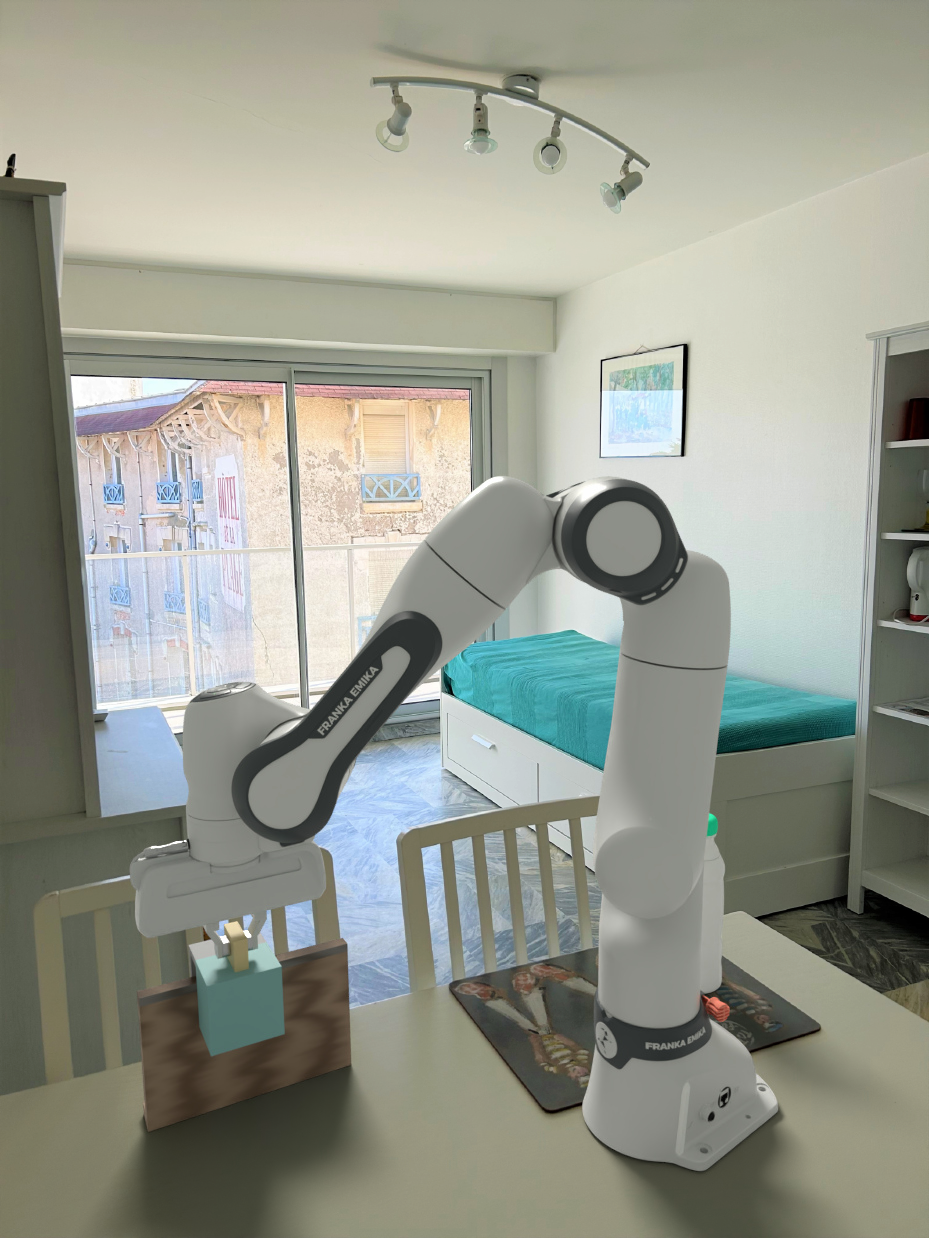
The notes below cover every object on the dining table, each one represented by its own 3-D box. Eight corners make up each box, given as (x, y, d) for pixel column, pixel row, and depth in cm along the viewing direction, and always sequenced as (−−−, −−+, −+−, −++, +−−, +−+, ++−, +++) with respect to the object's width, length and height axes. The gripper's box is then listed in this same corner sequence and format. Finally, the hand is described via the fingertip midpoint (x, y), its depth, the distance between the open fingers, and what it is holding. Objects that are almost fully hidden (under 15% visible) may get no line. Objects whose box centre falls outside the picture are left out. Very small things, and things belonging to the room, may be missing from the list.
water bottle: (723, 998, 122) (729, 826, 119) (671, 993, 124) (675, 823, 120) (719, 971, 129) (724, 808, 125) (670, 966, 130) (673, 805, 127)
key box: (260, 990, 106) (256, 900, 104) (284, 1033, 97) (280, 936, 95) (192, 1009, 102) (186, 916, 100) (211, 1056, 93) (205, 955, 92)
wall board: (342, 1049, 112) (338, 931, 110) (351, 1064, 109) (347, 943, 107) (143, 1113, 101) (134, 983, 98) (148, 1131, 98) (138, 998, 95)
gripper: (132, 862, 87) (141, 991, 89) (328, 823, 97) (333, 941, 99) (124, 840, 93) (132, 963, 95) (310, 806, 102) (315, 918, 104)
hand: (236, 951), depth 97 cm, fingers closed on key box
